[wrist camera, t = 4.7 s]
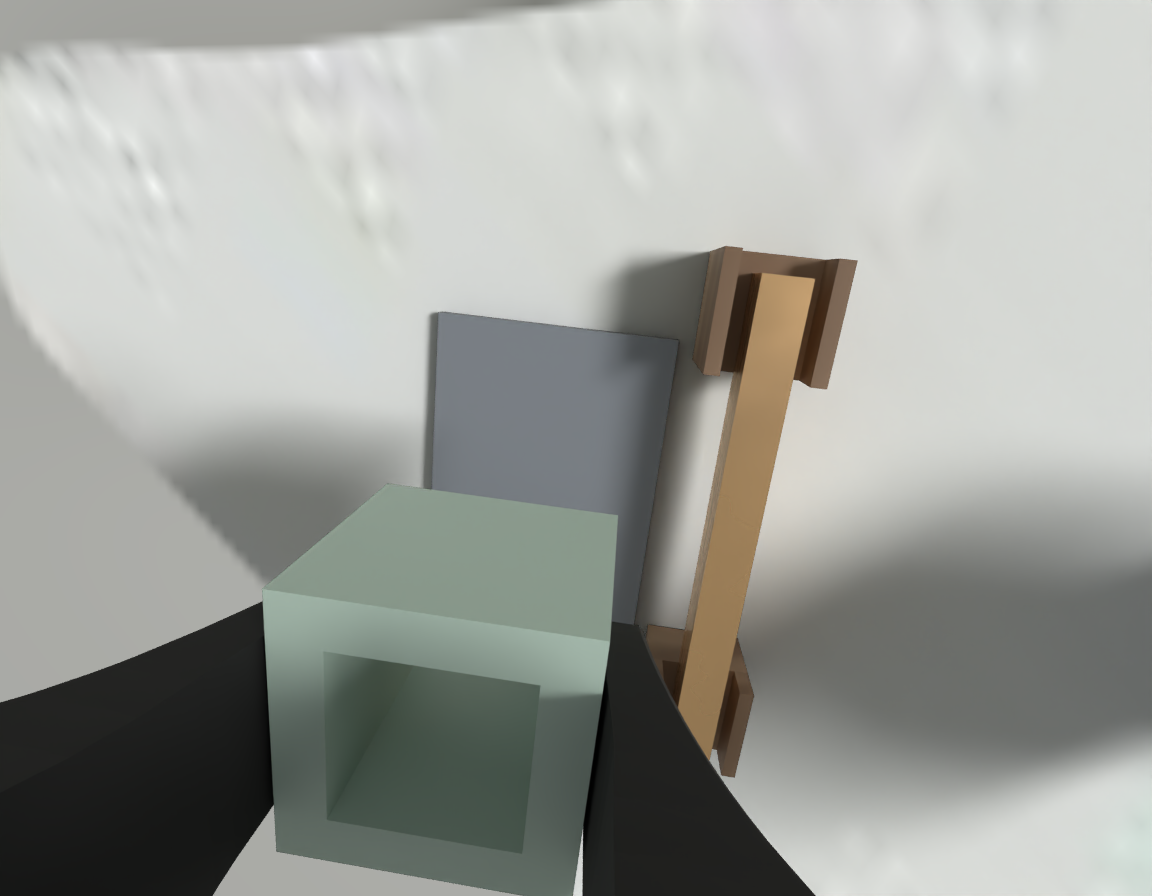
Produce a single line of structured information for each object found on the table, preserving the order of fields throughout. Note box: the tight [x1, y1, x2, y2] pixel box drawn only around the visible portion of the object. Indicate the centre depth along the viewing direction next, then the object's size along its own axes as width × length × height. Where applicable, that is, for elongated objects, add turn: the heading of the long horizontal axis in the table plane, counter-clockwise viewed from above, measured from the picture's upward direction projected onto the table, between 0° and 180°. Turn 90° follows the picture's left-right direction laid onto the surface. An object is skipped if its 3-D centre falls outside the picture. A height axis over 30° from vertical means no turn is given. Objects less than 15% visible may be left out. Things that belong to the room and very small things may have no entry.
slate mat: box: [432, 312, 679, 625], centre depth 18 cm, size 7×10×1 cm
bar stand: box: [646, 246, 857, 778], centre depth 17 cm, size 3×15×3 cm, turn 174°
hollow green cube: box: [262, 484, 618, 896], centre depth 10 cm, size 4×4×4 cm
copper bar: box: [672, 273, 815, 760], centre depth 16 cm, size 1×14×1 cm, turn 174°
